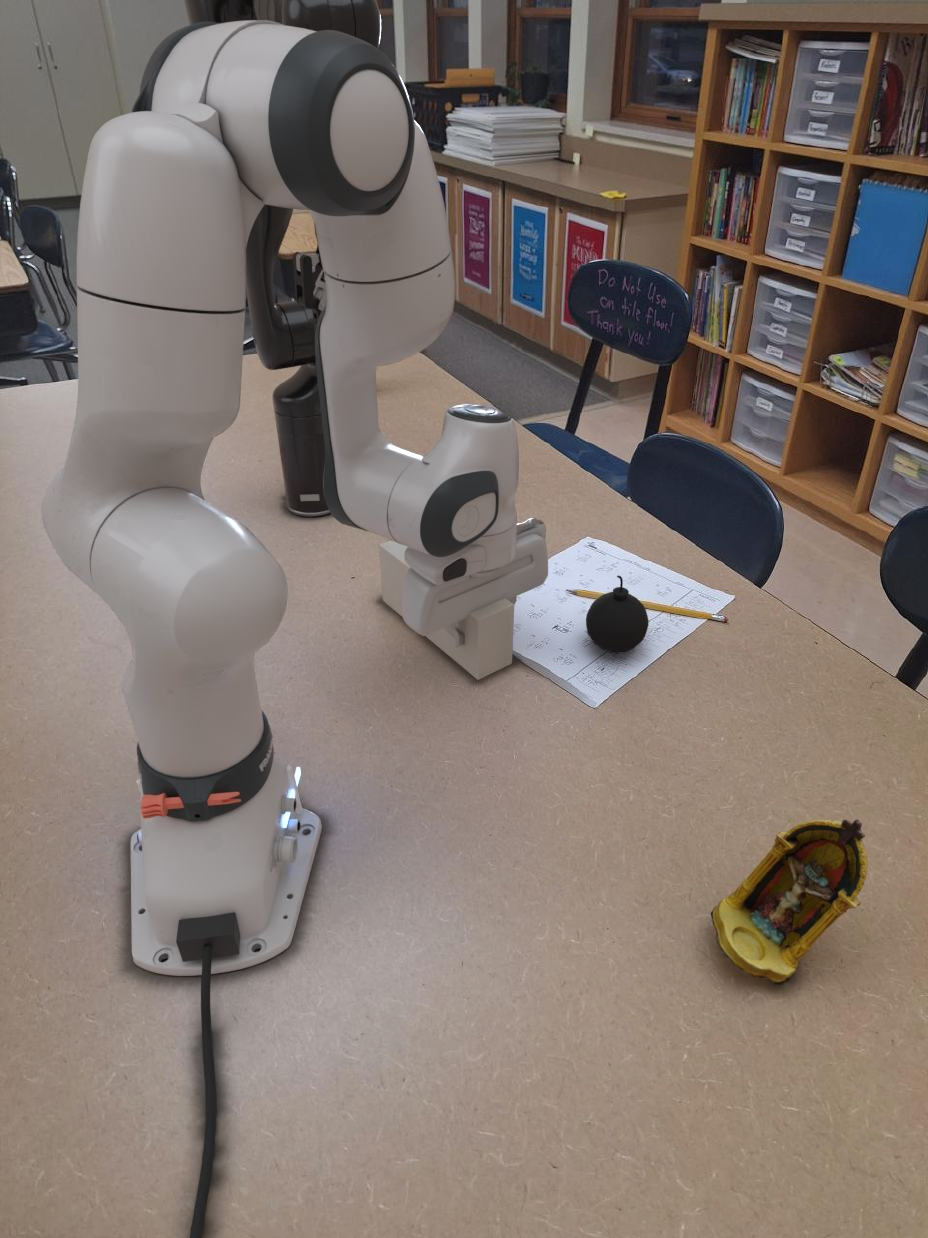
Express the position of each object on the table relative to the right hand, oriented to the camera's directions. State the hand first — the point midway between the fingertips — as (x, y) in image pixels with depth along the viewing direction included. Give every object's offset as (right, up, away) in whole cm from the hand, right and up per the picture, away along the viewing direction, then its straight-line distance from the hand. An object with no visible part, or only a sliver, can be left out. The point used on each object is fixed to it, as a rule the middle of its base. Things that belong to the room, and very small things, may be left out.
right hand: (354, 332), depth 110 cm
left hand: (+16, -39, -1) cm, 42 cm away
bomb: (+34, -40, +3) cm, 53 cm away
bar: (+11, -38, +6) cm, 40 cm away
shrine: (+41, -66, -33) cm, 85 cm away
